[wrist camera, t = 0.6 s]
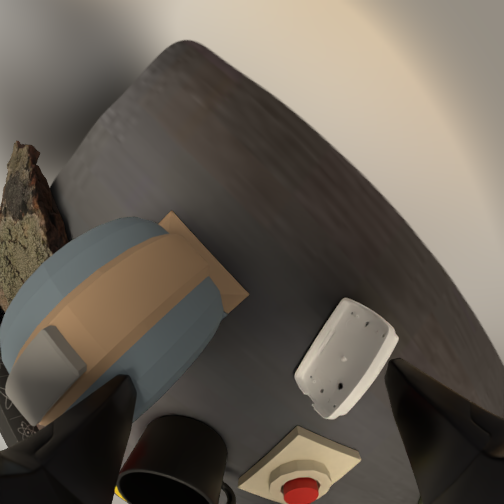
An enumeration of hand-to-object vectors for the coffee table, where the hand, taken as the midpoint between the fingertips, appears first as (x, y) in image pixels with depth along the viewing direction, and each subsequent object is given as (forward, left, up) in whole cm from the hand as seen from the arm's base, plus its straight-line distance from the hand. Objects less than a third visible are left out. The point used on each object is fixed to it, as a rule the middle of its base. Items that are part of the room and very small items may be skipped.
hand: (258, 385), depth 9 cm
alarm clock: (-6, +7, -16) cm, 18 cm away
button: (-15, -15, -13) cm, 25 cm away
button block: (-15, -15, -16) cm, 27 cm away
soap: (-1, -7, -12) cm, 14 cm away
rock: (-12, +25, -16) cm, 32 cm away
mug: (-20, -5, -16) cm, 26 cm away
